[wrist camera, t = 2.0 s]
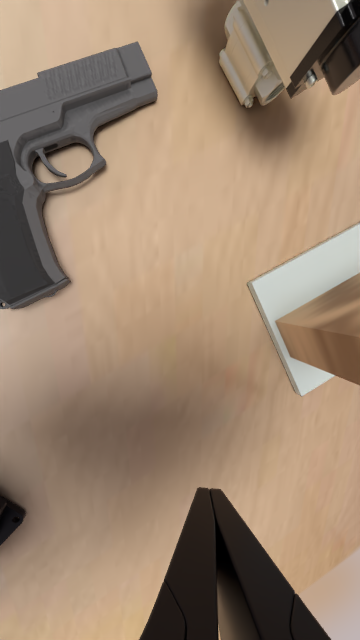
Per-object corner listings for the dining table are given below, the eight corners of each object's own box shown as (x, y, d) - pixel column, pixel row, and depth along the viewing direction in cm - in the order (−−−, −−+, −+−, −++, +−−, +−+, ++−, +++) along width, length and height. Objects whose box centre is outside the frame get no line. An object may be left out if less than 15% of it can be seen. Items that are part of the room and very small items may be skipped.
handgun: (219, 210, 17) (135, 17, 14) (-13, 324, 14) (-166, 108, 12) (203, 223, 20) (132, 67, 18) (11, 319, 17) (-105, 148, 15)
